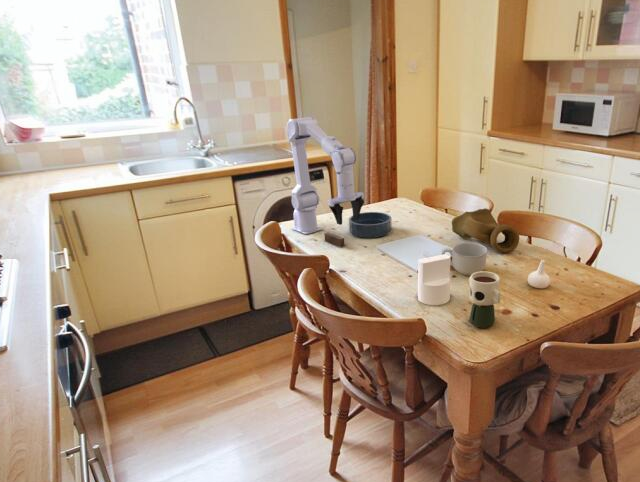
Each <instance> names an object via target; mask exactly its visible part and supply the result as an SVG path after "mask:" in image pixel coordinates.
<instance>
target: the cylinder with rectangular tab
mask: <svg viewBox="0 0 640 482" xmlns="http://www.w3.org/2000/svg"><path fill="white" fill-rule="evenodd" d="M450 260H451V256H450V255H448V254H446V253H445V254H443V255H441V254H438V255H434V256H429V257H425V258H419V259H417V300H418V302H420V303H422V304H424V305H428V306H442V305H445V304H447V303H448V302H449V301H450V299H451V298H450V297H451V265H450Z"/></svg>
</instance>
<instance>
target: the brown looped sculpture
mask: <svg viewBox="0 0 640 482" xmlns="http://www.w3.org/2000/svg"><path fill="white" fill-rule="evenodd" d="M451 230H452V233H454V234H455V235H457V236H458V237H460V238H461V239H463V240H468V239H474V240H477V241H479V242H482V243H486V244H489V245H491V247H492V248H493V249H494V250H495V251H496V252H498V253H500V254H509V253H511V252H513V251H515V250H516V249H517V247H518V246H519V243H520V234H519V231H518V230H517V229H516V227H514V226H513V225H511V224H505V223H504V224H499V223H498V222H497V221H496V219H495V217H494V216H493V213H492V212H491V211H490V210H489V208H487V207H486V208H485V207H484V208H479V209H477V210H473V211H465V212H463V213H462V214H460V215H458V216H455V217H453V218H452V219H451ZM501 233H502V235H503V236H504V240H502V241H500V242H498V241H497V240H498V237H499V235H500V234H501Z"/></svg>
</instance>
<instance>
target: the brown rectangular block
mask: <svg viewBox="0 0 640 482" xmlns="http://www.w3.org/2000/svg"><path fill="white" fill-rule="evenodd" d="M323 234H324V235H323V236H324V242H326V243H329V244H331V245H334V246H336V247H338V248H344V247H346V242H345V241H346V240H345V238H344V237H343V236H340V235H337V234H335V233H332V232H329V231H326V232H323Z"/></svg>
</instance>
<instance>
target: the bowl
mask: <svg viewBox="0 0 640 482" xmlns="http://www.w3.org/2000/svg"><path fill="white" fill-rule="evenodd" d="M348 226H349V227H348V228H349V233H350V234H351V235H352V236H355V237H359V238H366V239H373V238H374V239H375V238H379V237H384V236H386V235H388V234H391V232H392V230H393V220H392V216H391V215H390V214H388V213H385V212H380V211H366V212H365V211H364V212H360V214H359V219H358V220H356V219H354V218H353V215H351V216H350V217H349V218H348Z"/></svg>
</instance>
